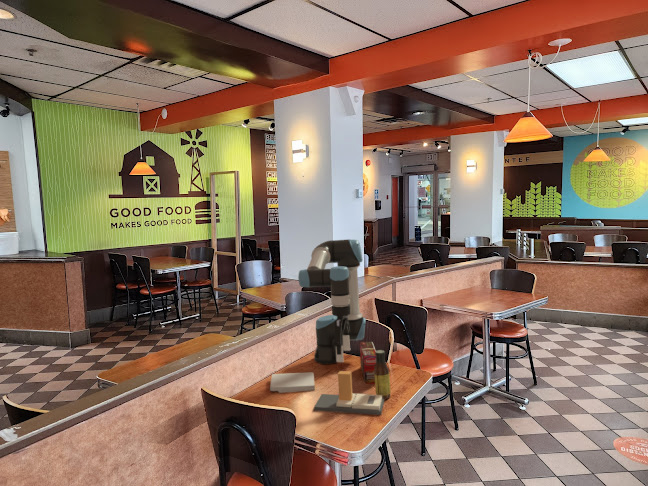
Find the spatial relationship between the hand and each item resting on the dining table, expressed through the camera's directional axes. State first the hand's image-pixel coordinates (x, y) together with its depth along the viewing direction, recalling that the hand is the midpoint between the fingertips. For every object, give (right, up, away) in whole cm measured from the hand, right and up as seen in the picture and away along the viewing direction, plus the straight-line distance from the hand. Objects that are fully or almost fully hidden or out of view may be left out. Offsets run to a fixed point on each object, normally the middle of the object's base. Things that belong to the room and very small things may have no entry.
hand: (343, 355), depth 176 cm
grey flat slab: (-22, -21, +25) cm, 40 cm away
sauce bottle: (+17, -20, +8) cm, 27 cm away
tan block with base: (+1, -19, +2) cm, 19 cm away
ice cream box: (+14, -18, +31) cm, 39 cm away
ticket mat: (+3, -21, +1) cm, 21 cm away
